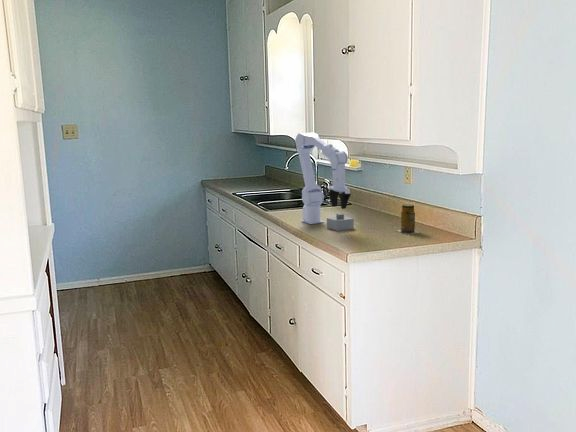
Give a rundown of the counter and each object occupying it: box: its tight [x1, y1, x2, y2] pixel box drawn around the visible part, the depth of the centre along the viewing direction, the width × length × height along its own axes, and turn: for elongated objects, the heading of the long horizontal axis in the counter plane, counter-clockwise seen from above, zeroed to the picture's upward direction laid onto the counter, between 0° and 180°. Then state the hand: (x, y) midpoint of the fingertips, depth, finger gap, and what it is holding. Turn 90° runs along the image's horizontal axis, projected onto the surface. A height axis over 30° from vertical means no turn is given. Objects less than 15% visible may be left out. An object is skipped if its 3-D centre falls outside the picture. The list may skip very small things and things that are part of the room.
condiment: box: [397, 203, 421, 235], centre depth 252 cm, size 7×8×12 cm
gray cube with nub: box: [326, 213, 355, 232], centre depth 265 cm, size 9×9×7 cm
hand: (339, 207), depth 263 cm, fingers open, 7 cm apart
